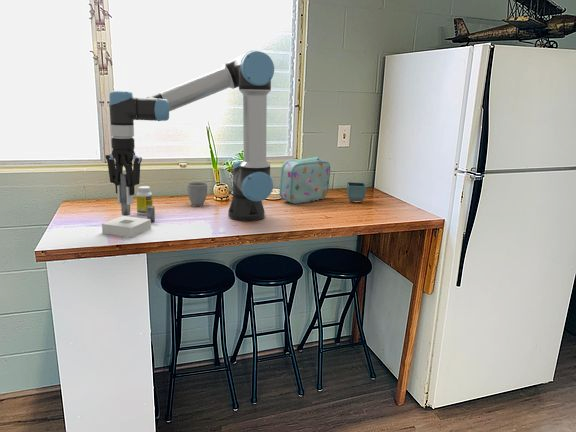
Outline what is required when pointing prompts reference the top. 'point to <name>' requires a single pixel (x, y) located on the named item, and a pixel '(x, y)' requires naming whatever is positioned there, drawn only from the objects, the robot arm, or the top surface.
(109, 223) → the socket block
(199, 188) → the mug
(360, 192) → the flower pot
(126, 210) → the long pin
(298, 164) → the lunch box
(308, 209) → the top surface
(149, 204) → the pill bottle
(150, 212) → the short pin
